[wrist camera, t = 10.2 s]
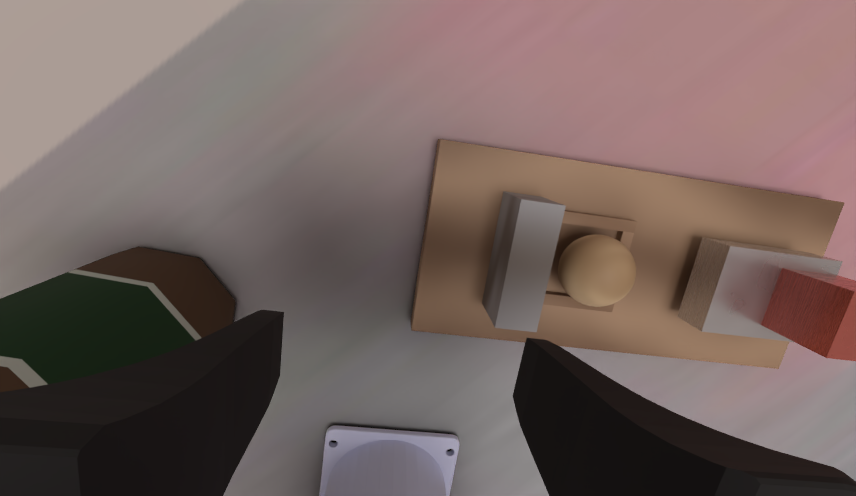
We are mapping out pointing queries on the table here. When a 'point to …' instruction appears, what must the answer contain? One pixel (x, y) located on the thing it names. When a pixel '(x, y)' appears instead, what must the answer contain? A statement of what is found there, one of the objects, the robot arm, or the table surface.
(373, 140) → the table surface
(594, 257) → the walnut
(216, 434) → the robot arm
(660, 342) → the wooden puzzle board
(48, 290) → the beer bottle
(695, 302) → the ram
